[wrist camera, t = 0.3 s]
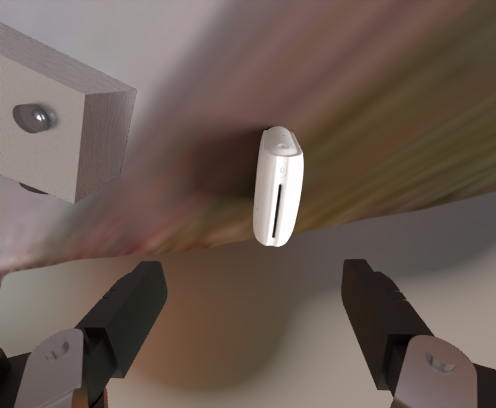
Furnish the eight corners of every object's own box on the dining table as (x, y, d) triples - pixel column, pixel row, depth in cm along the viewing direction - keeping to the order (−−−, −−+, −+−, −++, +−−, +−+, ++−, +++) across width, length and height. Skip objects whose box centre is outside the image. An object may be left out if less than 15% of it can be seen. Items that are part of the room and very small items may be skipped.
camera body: (-7, 19, 26) (-150, -11, 17) (137, 89, 28) (76, 95, 19) (2, 136, 32) (-99, 158, 23) (117, 185, 34) (66, 222, 26)
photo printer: (261, 123, 29) (257, 152, 18) (296, 126, 28) (313, 156, 18) (255, 197, 34) (249, 255, 23) (284, 200, 33) (292, 259, 23)
